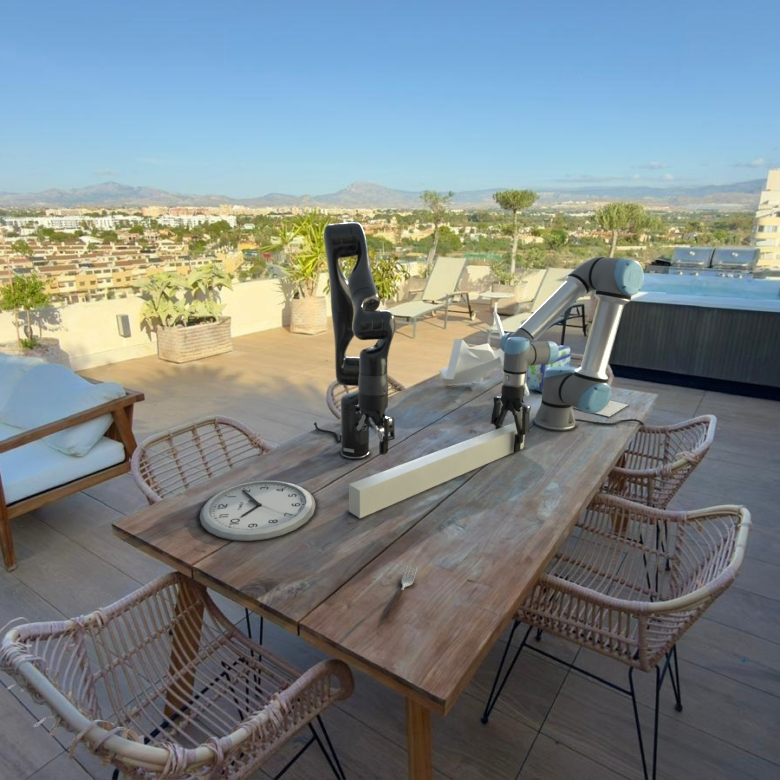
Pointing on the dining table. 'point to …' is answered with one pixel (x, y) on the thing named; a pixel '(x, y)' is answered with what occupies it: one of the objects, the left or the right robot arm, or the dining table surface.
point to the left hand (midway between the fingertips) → (372, 448)
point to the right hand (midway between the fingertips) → (507, 447)
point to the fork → (405, 582)
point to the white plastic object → (473, 361)
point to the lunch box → (538, 371)
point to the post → (429, 471)
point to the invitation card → (611, 408)
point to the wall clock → (257, 510)
